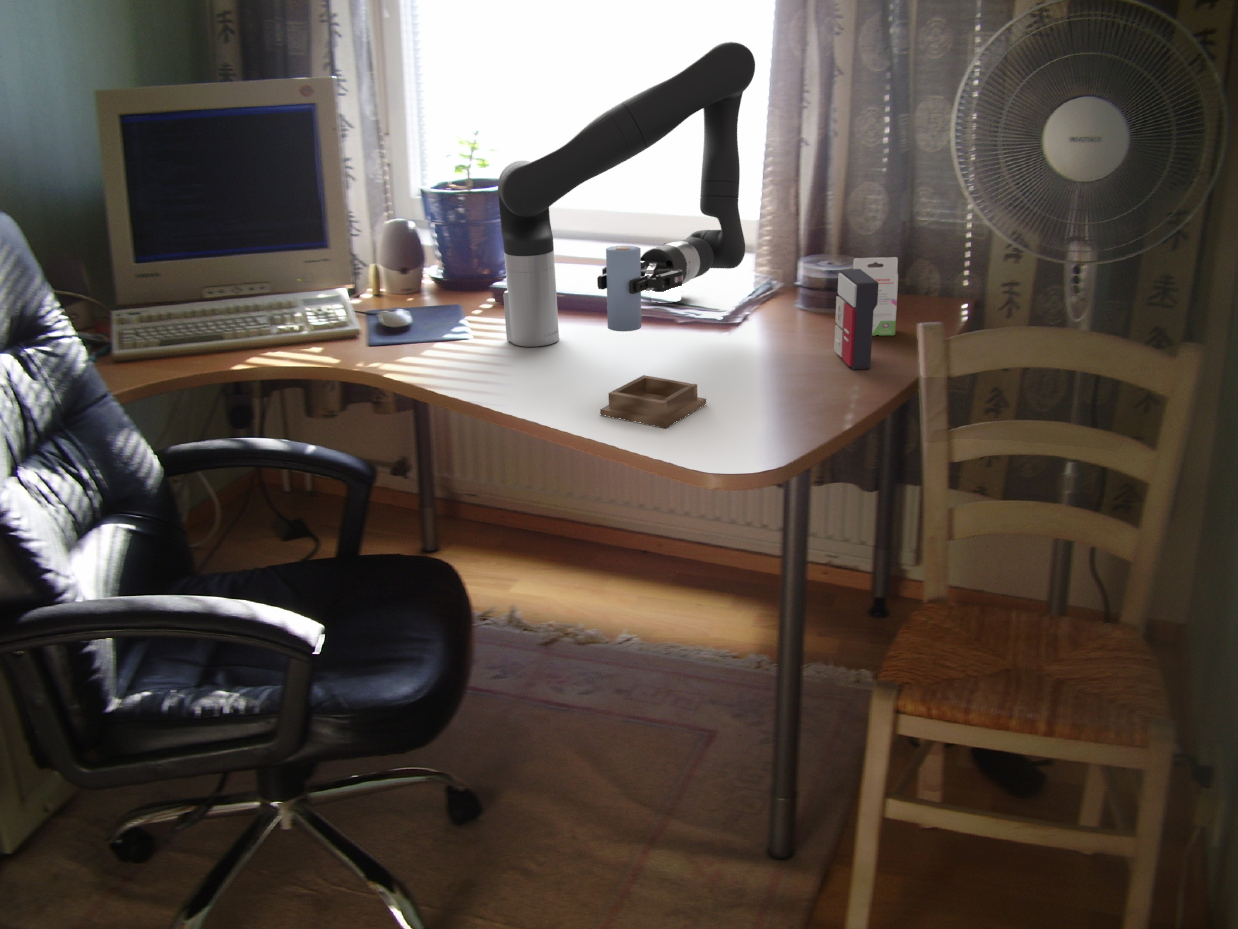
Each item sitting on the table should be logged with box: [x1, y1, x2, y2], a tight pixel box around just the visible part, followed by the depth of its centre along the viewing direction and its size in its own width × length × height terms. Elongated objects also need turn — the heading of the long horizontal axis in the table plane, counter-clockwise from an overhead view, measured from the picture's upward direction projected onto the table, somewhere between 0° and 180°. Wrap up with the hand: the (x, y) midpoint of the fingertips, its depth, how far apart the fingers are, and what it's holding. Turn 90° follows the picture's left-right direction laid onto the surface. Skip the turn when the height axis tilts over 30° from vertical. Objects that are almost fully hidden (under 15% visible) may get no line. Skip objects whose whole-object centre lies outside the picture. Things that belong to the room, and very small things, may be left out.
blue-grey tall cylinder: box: [605, 245, 642, 332], centre depth 177 cm, size 6×6×13 cm
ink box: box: [852, 256, 899, 337], centre depth 201 cm, size 9×5×15 cm, turn 84°
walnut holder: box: [599, 374, 707, 429], centre depth 168 cm, size 12×12×4 cm
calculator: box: [833, 268, 878, 371], centre depth 186 cm, size 11×4×15 cm, turn 5°
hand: (615, 285), depth 175 cm, fingers closed on blue-grey tall cylinder, 5 cm apart
